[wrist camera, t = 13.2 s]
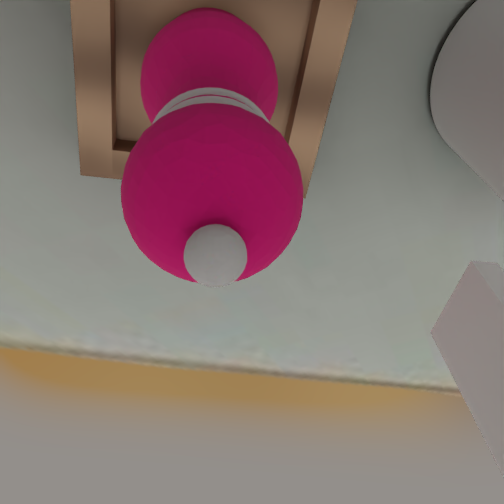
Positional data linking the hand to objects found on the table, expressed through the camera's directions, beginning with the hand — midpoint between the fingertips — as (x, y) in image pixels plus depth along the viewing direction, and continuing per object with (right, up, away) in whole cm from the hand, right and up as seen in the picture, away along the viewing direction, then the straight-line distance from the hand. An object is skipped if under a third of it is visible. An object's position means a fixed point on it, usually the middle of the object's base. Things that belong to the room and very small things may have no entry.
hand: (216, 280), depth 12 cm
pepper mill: (-2, +12, +17) cm, 21 cm away
